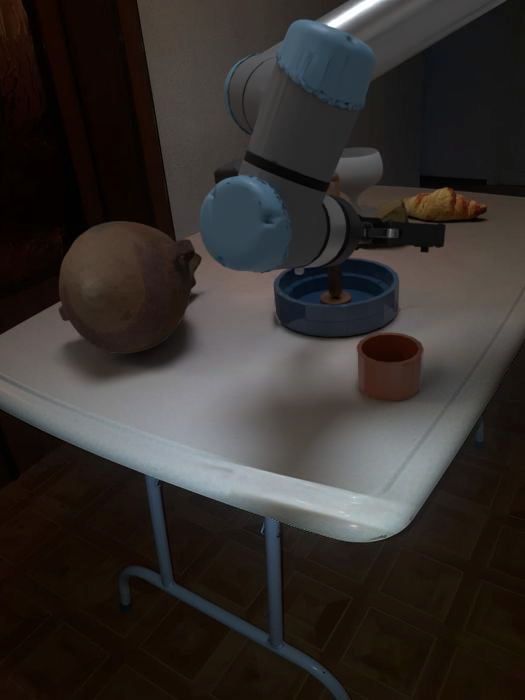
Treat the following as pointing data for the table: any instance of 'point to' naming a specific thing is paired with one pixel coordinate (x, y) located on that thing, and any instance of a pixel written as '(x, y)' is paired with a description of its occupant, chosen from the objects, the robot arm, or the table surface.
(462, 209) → the croissant
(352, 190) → the chalice
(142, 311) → the jug
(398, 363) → the crock
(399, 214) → the rock
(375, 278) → the bowl
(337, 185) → the paper towel holder
